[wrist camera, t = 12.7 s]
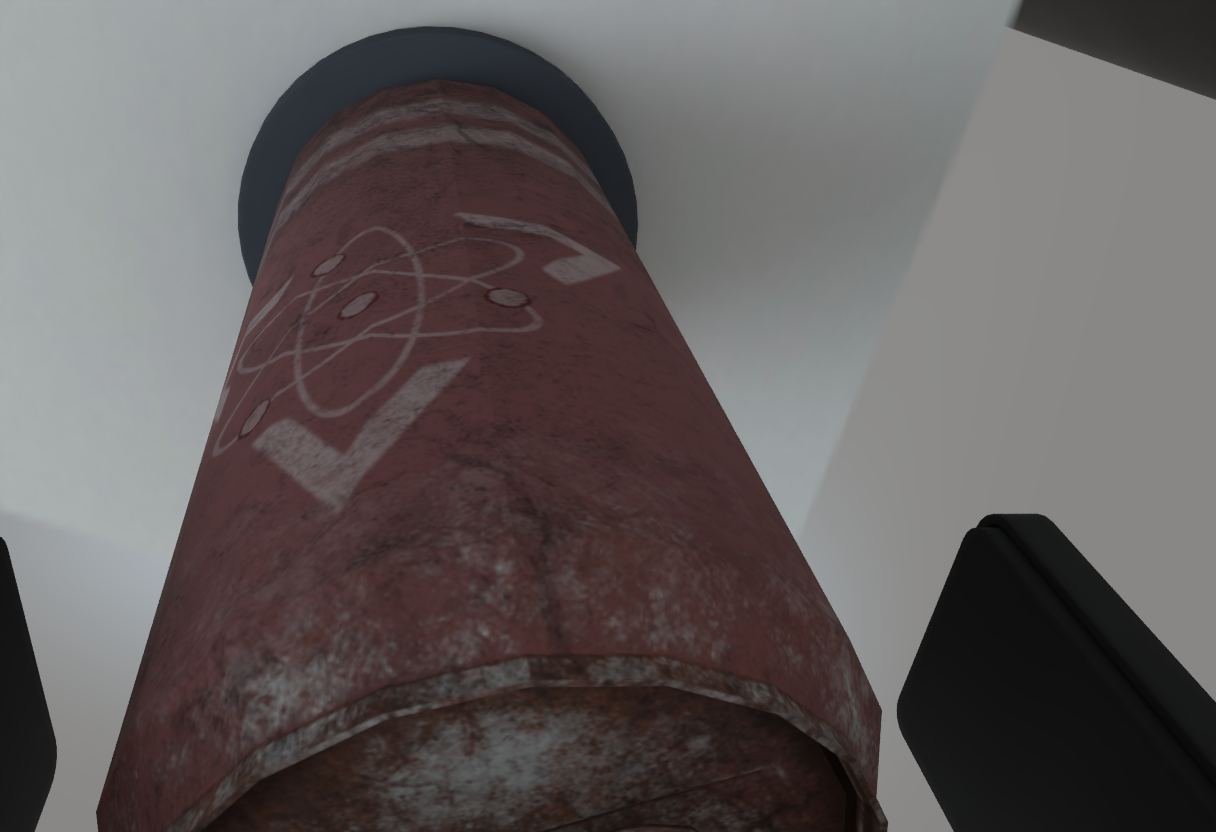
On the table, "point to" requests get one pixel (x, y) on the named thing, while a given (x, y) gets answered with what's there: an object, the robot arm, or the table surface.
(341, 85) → the coaster
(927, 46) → the table surface
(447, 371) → the can
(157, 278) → the table surface
